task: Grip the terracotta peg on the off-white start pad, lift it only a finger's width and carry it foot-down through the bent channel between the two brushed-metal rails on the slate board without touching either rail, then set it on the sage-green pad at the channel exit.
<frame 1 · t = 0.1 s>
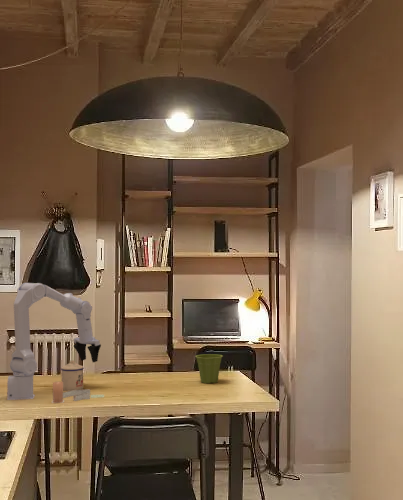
hand: (89, 360, 270), 11 cm above the table, tool pointing down, fingers open, 7 cm apart
rails: (74, 395, 244), on the board
plant pot: (209, 382, 277), on the table
teacup with lid: (73, 389, 264), on the table
peg: (57, 401, 237), point 1 cm above the table, touching board
board: (78, 398, 243), on the table
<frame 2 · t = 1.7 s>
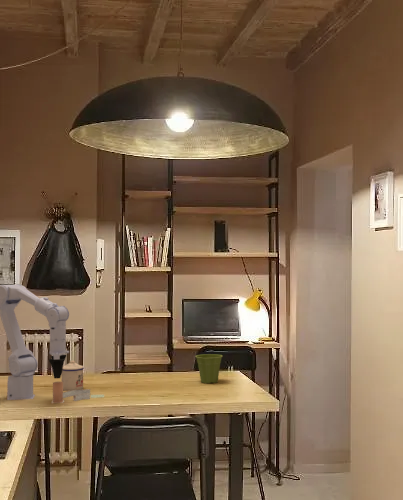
hand: (57, 376, 238), 10 cm above the table, tool pointing down, fingers open, 7 cm apart
nothing on the table moved.
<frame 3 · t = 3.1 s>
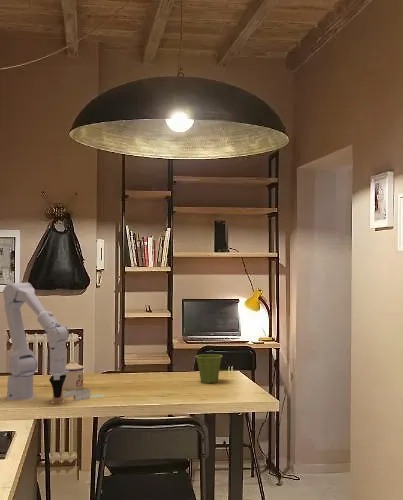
hand: (57, 396, 237), 3 cm above the table, tool pointing down, fingers closed on peg, 4 cm apart
peg: (57, 401, 237), point 1 cm above the table, touching board, gripper
everything else where it was.
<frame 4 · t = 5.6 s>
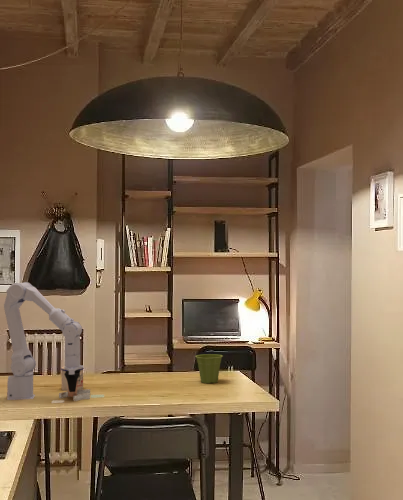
hand: (72, 390, 243), 3 cm above the table, tool pointing down, fingers closed on peg, 4 cm apart
peg: (72, 395, 243), point 2 cm above the table, touching gripper
everything else where it was.
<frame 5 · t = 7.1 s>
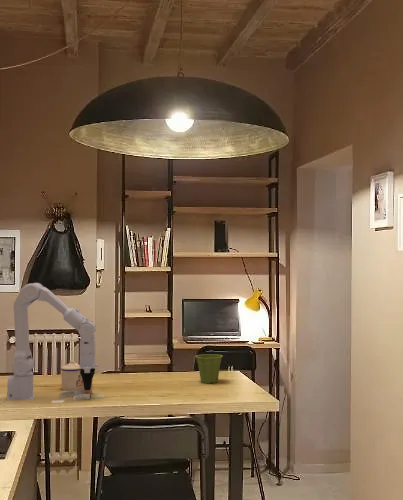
hand: (87, 388, 246), 3 cm above the table, tool pointing down, fingers closed on peg, 4 cm apart
peg: (87, 393, 246), point 2 cm above the table, touching gripper
everything else where it was.
when the fingers open (3 cm above the table, at t = 8.4 s): peg stays where it is, resting on board.
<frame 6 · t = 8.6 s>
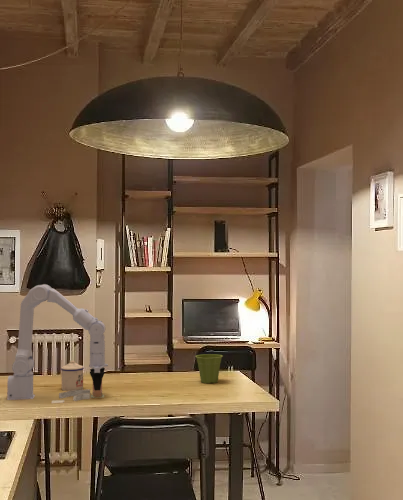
hand: (97, 388, 247), 3 cm above the table, tool pointing down, fingers open, 5 cm apart
peg: (97, 396, 247), point 1 cm above the table, touching board
everything else where it was.
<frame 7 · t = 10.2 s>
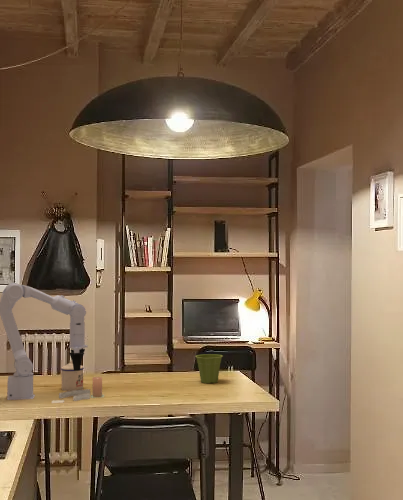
hand: (77, 369, 253), 10 cm above the table, tool pointing down, fingers open, 7 cm apart
nothing on the table moved.
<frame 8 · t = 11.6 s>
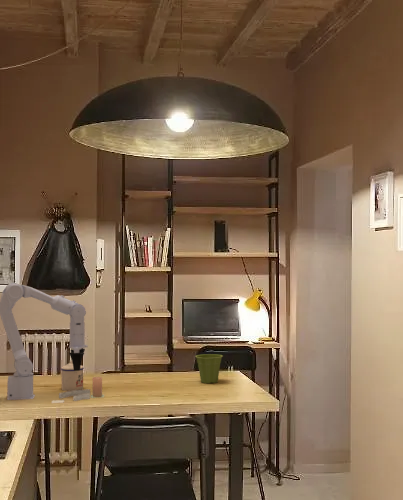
hand: (77, 369, 253), 10 cm above the table, tool pointing down, fingers open, 7 cm apart
nothing on the table moved.
at the end: peg 0.0 cm from the target spot, point 0.6 cm above the table; peg tilted 0°; peg touching board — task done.
